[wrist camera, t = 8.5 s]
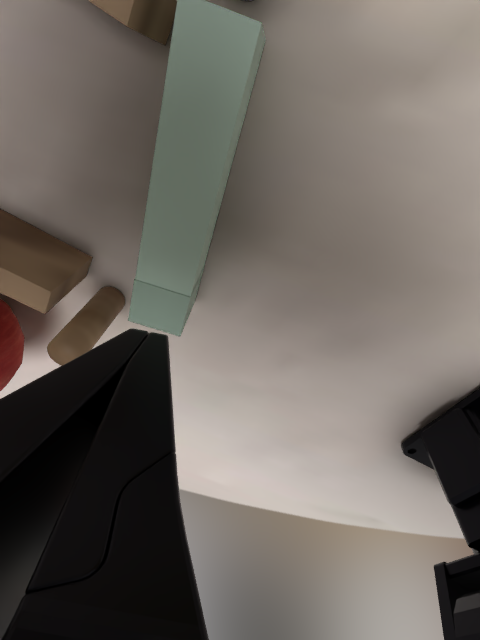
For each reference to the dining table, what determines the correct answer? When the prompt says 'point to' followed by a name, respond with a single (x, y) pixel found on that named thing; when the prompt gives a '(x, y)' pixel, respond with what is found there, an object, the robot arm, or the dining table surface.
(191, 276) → the leg bar
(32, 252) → the brown u-shaped frame
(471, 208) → the dining table surface
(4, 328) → the pomegranate
